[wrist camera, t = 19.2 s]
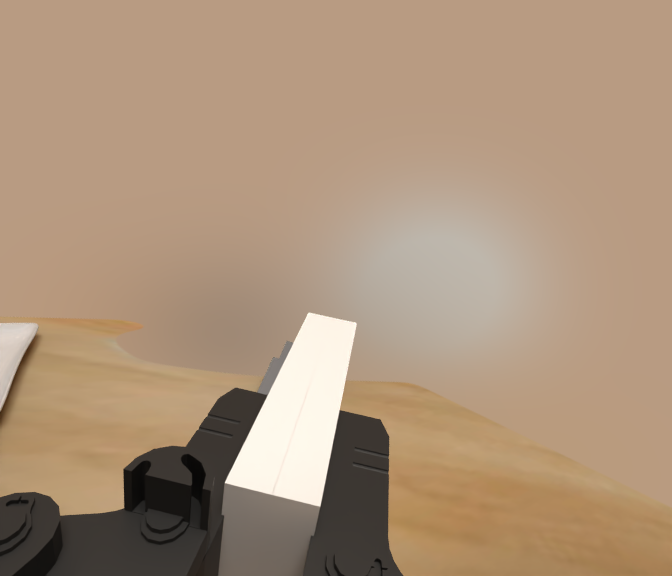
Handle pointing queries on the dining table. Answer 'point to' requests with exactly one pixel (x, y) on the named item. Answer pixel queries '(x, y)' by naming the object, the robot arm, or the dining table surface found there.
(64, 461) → the dining table surface
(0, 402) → the salad plate
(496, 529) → the dining table surface
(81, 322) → the dining table surface
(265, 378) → the domino
